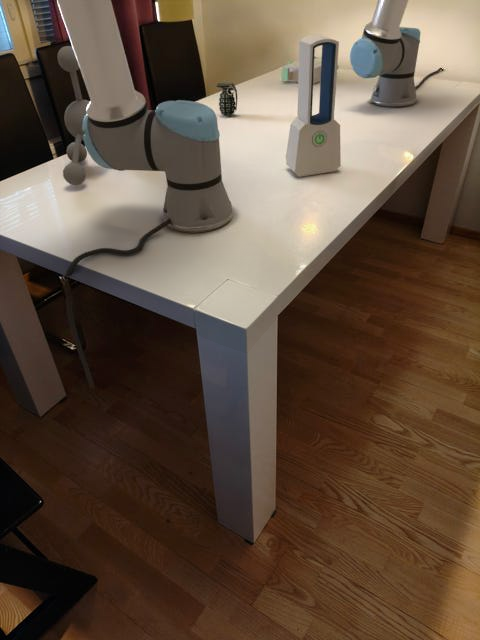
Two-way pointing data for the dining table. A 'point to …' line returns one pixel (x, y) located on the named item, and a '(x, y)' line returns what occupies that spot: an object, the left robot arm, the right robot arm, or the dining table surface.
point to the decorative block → (292, 71)
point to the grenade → (227, 99)
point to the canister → (174, 10)
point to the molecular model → (74, 120)
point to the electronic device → (321, 129)
